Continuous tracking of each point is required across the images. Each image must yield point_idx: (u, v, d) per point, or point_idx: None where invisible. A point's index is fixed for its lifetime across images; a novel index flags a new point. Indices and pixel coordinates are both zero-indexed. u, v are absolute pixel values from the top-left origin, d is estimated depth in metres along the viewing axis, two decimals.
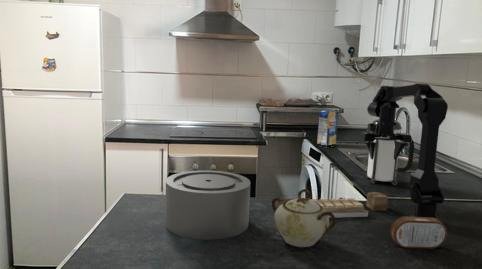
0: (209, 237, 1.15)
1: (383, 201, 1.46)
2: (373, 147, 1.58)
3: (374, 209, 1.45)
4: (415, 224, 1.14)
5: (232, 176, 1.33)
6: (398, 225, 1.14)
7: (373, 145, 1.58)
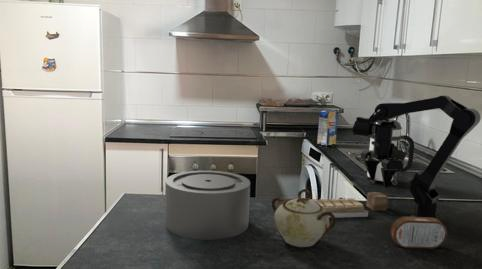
0: (209, 237, 1.15)
1: (383, 201, 1.46)
2: (366, 166, 1.51)
3: (374, 209, 1.45)
4: (415, 224, 1.14)
5: (232, 176, 1.33)
6: (398, 225, 1.14)
7: (365, 163, 1.51)
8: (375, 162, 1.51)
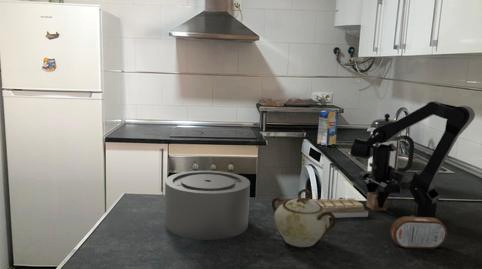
0: (209, 237, 1.15)
1: None
2: (366, 188, 1.50)
3: (374, 209, 1.45)
4: (415, 224, 1.14)
5: (231, 176, 1.33)
6: (398, 225, 1.14)
7: (366, 186, 1.50)
8: (375, 185, 1.50)
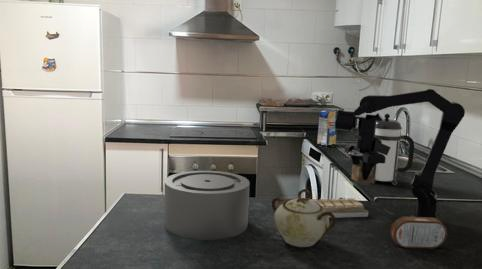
0: (209, 237, 1.15)
1: None
2: (352, 161, 1.46)
3: (358, 181, 1.41)
4: (415, 224, 1.14)
5: (231, 176, 1.33)
6: (398, 225, 1.14)
7: (351, 158, 1.46)
8: (361, 157, 1.46)
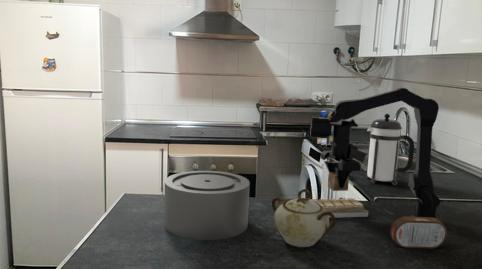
0: (209, 238, 1.15)
1: None
2: (328, 168, 1.42)
3: (334, 189, 1.37)
4: (415, 224, 1.14)
5: (231, 176, 1.33)
6: (398, 225, 1.14)
7: (327, 166, 1.42)
8: (337, 164, 1.42)
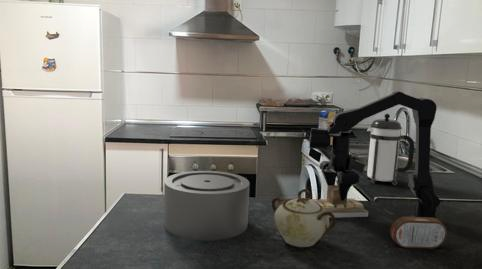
0: (208, 238, 1.14)
1: None
2: (325, 177, 1.45)
3: (333, 203, 1.38)
4: (415, 224, 1.14)
5: (231, 176, 1.32)
6: (398, 225, 1.14)
7: (324, 175, 1.45)
8: (334, 173, 1.45)
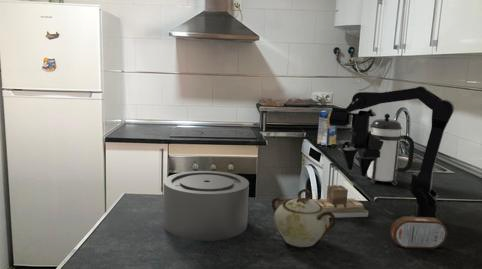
0: (208, 238, 1.14)
1: (343, 195, 1.38)
2: (344, 155, 1.51)
3: (333, 203, 1.38)
4: (415, 224, 1.14)
5: (230, 176, 1.32)
6: (398, 225, 1.14)
7: (343, 153, 1.51)
8: (353, 152, 1.51)
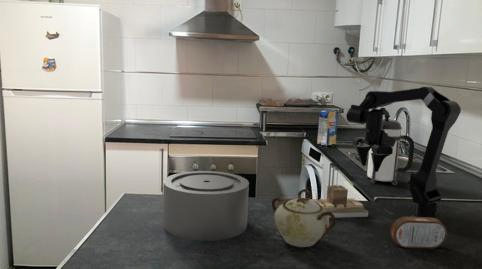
0: (208, 238, 1.14)
1: (343, 195, 1.38)
2: (358, 152, 1.57)
3: (333, 203, 1.38)
4: (415, 224, 1.14)
5: (230, 176, 1.32)
6: (398, 225, 1.14)
7: (357, 149, 1.57)
8: (366, 148, 1.57)
